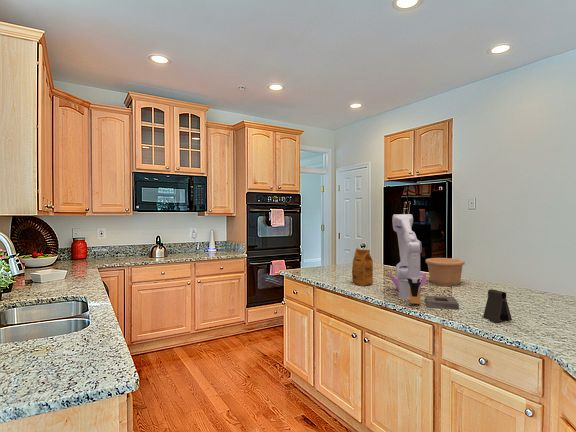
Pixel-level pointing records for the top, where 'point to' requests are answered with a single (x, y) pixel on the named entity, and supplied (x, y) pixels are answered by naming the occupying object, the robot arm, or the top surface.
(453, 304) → the pocket holder
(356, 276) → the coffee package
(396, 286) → the teakettle
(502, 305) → the phone stand
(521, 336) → the top surface
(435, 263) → the pottery
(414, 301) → the orange block
